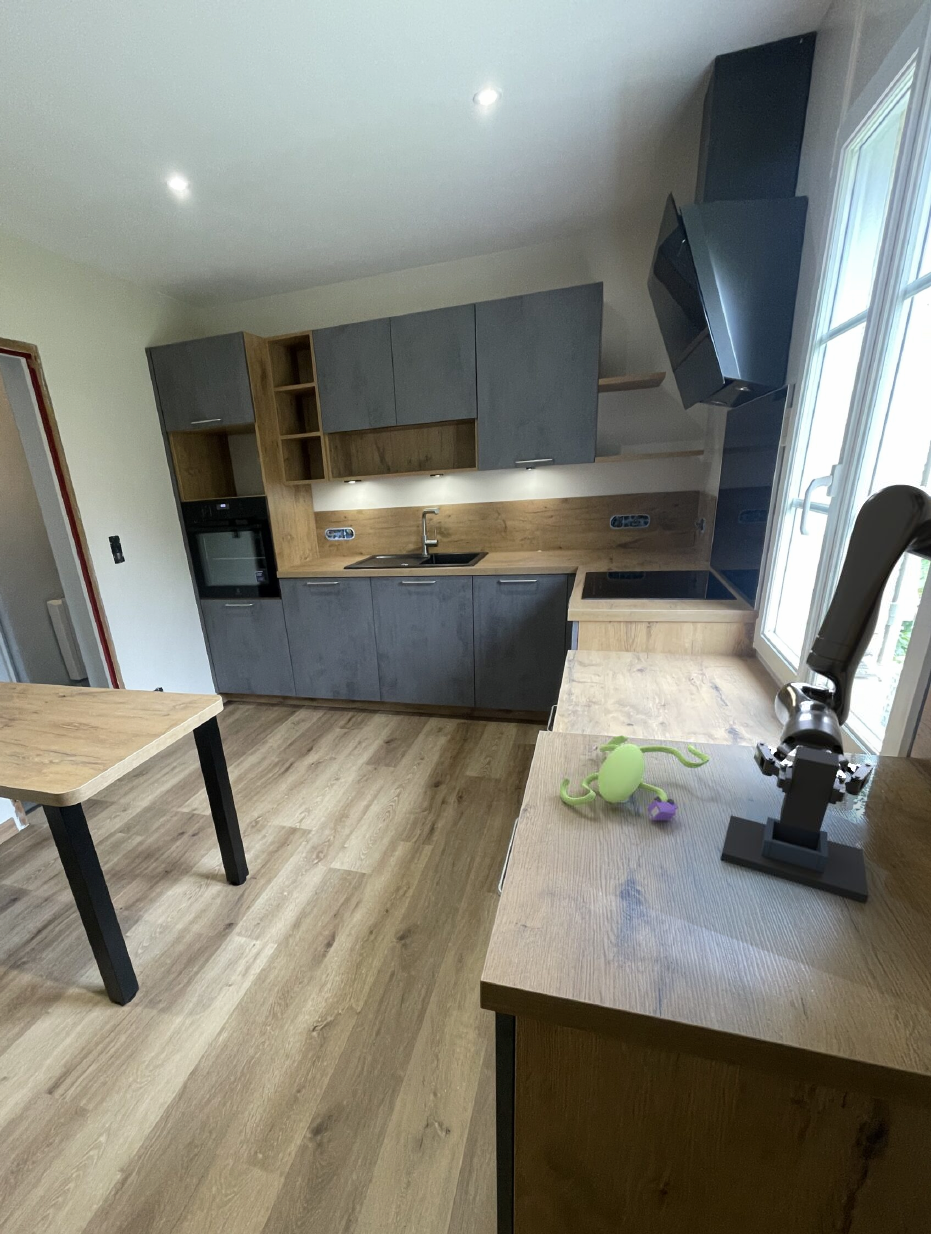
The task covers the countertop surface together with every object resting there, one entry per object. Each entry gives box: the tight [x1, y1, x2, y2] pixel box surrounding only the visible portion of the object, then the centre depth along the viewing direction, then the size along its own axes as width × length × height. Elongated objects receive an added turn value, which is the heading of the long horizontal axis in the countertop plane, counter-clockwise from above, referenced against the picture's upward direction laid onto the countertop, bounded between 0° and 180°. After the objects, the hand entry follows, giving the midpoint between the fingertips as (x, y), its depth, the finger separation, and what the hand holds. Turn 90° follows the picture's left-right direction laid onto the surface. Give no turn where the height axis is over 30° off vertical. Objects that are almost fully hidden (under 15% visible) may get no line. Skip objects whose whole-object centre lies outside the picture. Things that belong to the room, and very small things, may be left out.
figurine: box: [559, 735, 710, 822], centre depth 95 cm, size 18×27×6 cm
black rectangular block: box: [779, 746, 839, 833], centre depth 73 cm, size 4×4×10 cm
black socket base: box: [720, 814, 869, 904], centre depth 76 cm, size 16×11×4 cm
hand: (810, 791), depth 70 cm, fingers closed on black rectangular block, 4 cm apart
